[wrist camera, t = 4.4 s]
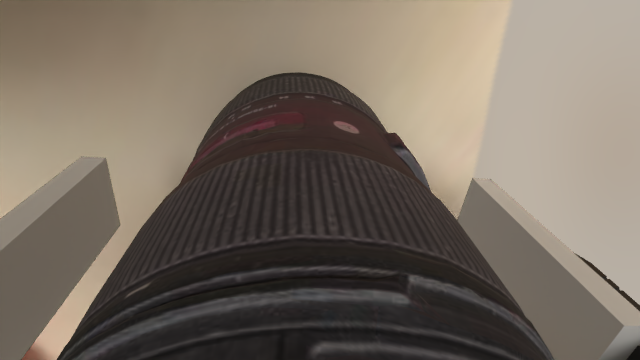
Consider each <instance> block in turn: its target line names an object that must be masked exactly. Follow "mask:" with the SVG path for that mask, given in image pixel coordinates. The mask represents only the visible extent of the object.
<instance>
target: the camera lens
mask: <svg viewBox="0 0 640 360" xmlns="http://www.w3.org/2000/svg"><path fill="white" fill-rule="evenodd" d="M57 360H554V358H553V356H552V354H551V352H550V351H549V349H548V348H547V346H546V344H545V343H544V341H543V340H542V338H541V337H540V335H539V333H538V332H537V330H536V329H535V327H534V326H533V324H532V322H531V321H530V320H528V319H527V318H526V316H525V315H524V313H523V311H522V309H521V308H520V306H519V305H518V303H517V302H516V300H515V299H514V298H513V296H512V295H511V294H510V292H509V291H508V290H507V288H506V287H505V285H504V284H503V283H502V281H501V280H500V279H499V277H498V276H497V274H496V273H495V272H494V270H493V269H492V268H491V266H490V265H489V263H488V262H487V261H486V259H485V258H484V257H483V255H482V254H481V252H480V251H479V250H478V248H477V247H476V246H475V244H474V243H473V241H472V240H471V239H470V237H469V236H468V235H467V233H466V232H465V231H464V229H463V228H462V226H461V225H460V224H459V222H458V221H457V220H456V219H455V217H454V216H453V215H452V214H451V213H450V211H449V210H448V209H447V208H446V207H445V205H444V204H443V203H442V202H441V201H440V200H439V199H438V198H436V197H435V196H434V195H433V194H432V192H431V191H430V188H429V185H428V182H427V180H426V177H425V174H424V172H423V170H422V168H421V167H420V165H419V164H418V162H417V161H416V159H415V157H414V156H413V155H412V154H411V152H410V151H409V150H408V148H407V147H406V146H405V145H404V143H403V141H402V140H401V139H400V137H399V136H398V135H397V134H396V133H387V131H386V130H385V128H384V127H383V125H382V124H381V122H380V121H379V119H378V118H377V116H376V115H375V113H374V112H373V111H372V110H371V108H370V107H369V106H368V105H367V104H365V103H364V102H363V101H362V100H361V99H359V98H358V97H357V96H356V95H354V94H353V93H351V92H350V91H349V90H347V89H346V88H345V87H343V86H342V85H340V84H338V83H337V82H335V81H333V80H331V79H328V78H325V77H322V76H318V75H314V74H307V73H283V74H277V75H273V76H270V77H266V78H264V79H261V80H259V81H257V82H255V83H254V84H252V85H250V86H249V87H247V88H246V89H244V90H243V91H241V92H240V93H239V94H238V95H237V96H236V97H235V98H234V99H233V100H232V101H230V102H229V103H228V104H227V105H226V106H225V107H224V108H223V110H222V111H221V112H220V113H219V115H218V116H217V117H216V118H215V120H214V121H213V123H212V125H211V126H210V128H209V129H208V131H207V133H206V134H205V136H204V138H203V140H202V142H201V144H200V145H199V147H198V149H197V152H196V155H195V157H194V159H193V161H192V162H191V164H190V166H189V168H188V170H187V172H186V173H185V175H184V177H183V179H182V181H181V183H180V184H179V185H178V186H177V187H176V188H175V189H174V190H173V191H172V192H171V193H170V194H169V195H168V196H167V197H166V198H165V199H164V200H163V202H162V203H161V204H160V205H159V207H158V208H157V209H156V210H155V212H154V213H153V214H152V215H151V217H150V218H149V219H148V220H147V222H146V223H145V224H144V225H143V227H142V228H141V229H140V231H139V232H138V234H137V235H136V237H135V238H134V240H133V242H132V243H131V245H130V246H129V248H128V249H127V251H126V252H125V254H124V255H123V257H122V258H121V260H120V261H119V263H118V264H117V266H116V267H115V269H114V270H113V272H112V273H111V275H110V276H109V278H108V279H107V281H106V283H105V284H104V286H103V287H102V289H101V290H100V292H99V293H98V295H97V296H96V298H95V299H94V301H93V302H92V304H91V305H90V307H89V309H88V311H87V312H86V314H85V316H84V317H83V319H82V321H81V323H80V324H79V326H78V328H77V329H76V331H75V333H74V334H73V336H72V338H71V340H70V341H69V342H68V344H67V345H66V346H65V347H64V349H63V351H62V352H61V354H60V355H59V357H58V358H57Z"/></svg>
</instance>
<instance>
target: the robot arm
mask: <svg viewBox="0 0 640 360" xmlns="http://www.w3.org/2000/svg"><path fill="white" fill-rule="evenodd" d="M457 221H458V222H459V224H460V225H461V226H462V228H463V229H464V231H465V232H466V233H467V235H468V236H469V237H470V239H471V240H472V241H473V243H474V244H475V246H476V247H477V248H478V250H479V251H480V252H481V254H482V255H483V257H484V258H485V259H486V261H487V262H488V263H489V265H490V266H491V268H492V269H493V270H494V272H495V273H496V274H497V276H498V277H499V279H500V280H501V281H502V283H503V284H504V285H505V287H506V288H507V290H508V291H509V292H510V294H511V295H512V296H513V298H514V299H515V300H516V302H517V303H518V305H519V306H520V308H521V309H522V311H523V313H524V315H525V316H526V318H527V319H528V320H530V321H531V322H532V324H533V326H534V327H535V329H536V330H537V332H538V333H539V335H540V337H541V338H542V340H543V341H544V343H545V344H546V346H547V348H548V349H549V351H550V352H551V354H552V356H553V358H554V360H640V305H639V304H637V303H636V302H635V301H634V300H633V299H632V298H630V296H628V295H627V294H626V293H625V292H624V291H620V290H619V287H618V286H617V285H616V284H615V283H613V282H612V281H611V280H610V279H607V278H606V276H605V275H604V274H603V273H602V272H601V271H600V270H598V269H597V268H596V267H595V266H594V265H593V264H592V263H590V262H588V261H587V260H585V259H584V258H582V257H580V256H579V255H577V254H575V253H574V252H572V251H571V250H570V249H569V248H568V247H567V246H565V245H564V244H563V243H562V242H561V241H560V240H559V239H558V238H556V237H555V236H554V235H553V234H552V233H551V232H550V231H548V230H547V229H546V228H545V227H544V226H543V225H542V224H541V223H540V222H538V221H537V220H536V219H535V218H534V217H533V216H532V215H531V214H529V213H528V212H527V211H526V210H525V209H524V208H523V207H521V206H520V205H519V204H518V203H517V202H516V201H515V200H514V199H513V198H512V197H510V196H509V195H508V194H507V193H506V192H505V191H504V190H503V189H501V188H500V187H499V186H498V185H497V184H496V183H495V182H493V181H492V180H491V179H479V178H472V181H471V183H470V186H469V189H468V192H467V195H466V197H465V200H464V203H463V206H462V209H461V212H460V214H459V217H458V220H457ZM119 226H120V222H119V217H118V212H117V207H116V203H115V198H114V193H113V188H112V184H111V179H110V174H109V169H108V165H107V160H106V158H98V157H80V158H79V159H78V160H76V161H75V162H74V163H72V164H71V165H70V166H69V167H67V168H66V169H65V170H63V171H62V172H61V173H59V174H58V175H57V176H55V177H54V178H53V179H52V180H50V181H49V182H48V183H46V184H45V185H44V186H42V187H41V188H40V189H39V190H37V191H36V192H35V193H33V194H32V195H31V196H29V197H28V198H27V199H26V200H24V201H23V202H22V203H20V204H19V205H18V206H16V207H15V208H14V209H13V210H11V211H10V212H9V213H7V214H6V215H5V216H3V217H2V218H1V219H0V360H21V359H22V358H23V356H24V355H25V354H26V352H27V351H28V350H29V348H30V347H31V346H32V344H33V343H34V342H35V340H36V339H37V337H38V336H39V335H40V333H41V332H42V331H43V329H44V328H45V327H46V325H47V324H48V323H49V321H50V320H51V318H52V317H53V316H54V314H55V313H56V312H57V310H58V309H59V308H60V306H61V305H62V304H63V302H64V301H65V299H66V298H67V297H68V295H69V294H70V293H71V291H72V290H73V289H74V287H75V286H76V285H77V283H78V282H79V280H80V279H81V278H82V276H83V275H84V274H85V272H86V271H87V270H88V268H89V267H90V266H91V264H92V263H93V261H94V260H95V259H96V257H97V256H98V255H99V253H100V252H101V251H102V249H103V248H104V247H105V245H106V244H107V243H108V241H109V240H110V238H111V237H112V236H113V234H114V233H115V232H116V230H117V229H118V228H119Z"/></svg>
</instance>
